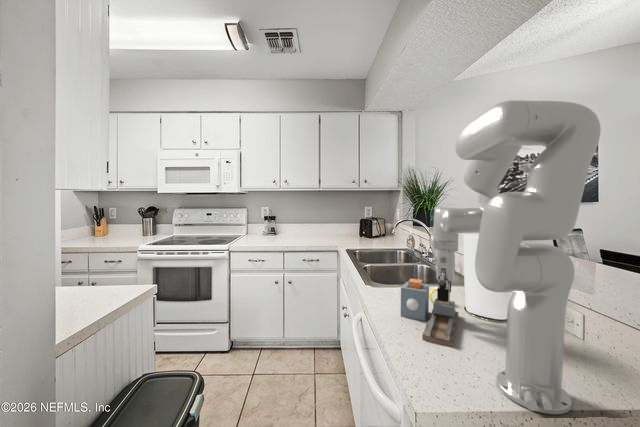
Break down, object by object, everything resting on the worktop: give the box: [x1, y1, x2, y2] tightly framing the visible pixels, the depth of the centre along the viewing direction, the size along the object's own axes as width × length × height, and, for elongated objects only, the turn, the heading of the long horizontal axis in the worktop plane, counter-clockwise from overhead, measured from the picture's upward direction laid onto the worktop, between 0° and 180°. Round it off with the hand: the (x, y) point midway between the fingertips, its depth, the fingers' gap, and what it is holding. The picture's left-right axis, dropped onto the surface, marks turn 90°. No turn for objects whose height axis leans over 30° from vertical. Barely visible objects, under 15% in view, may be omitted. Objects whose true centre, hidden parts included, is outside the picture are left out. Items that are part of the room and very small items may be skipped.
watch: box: [429, 286, 438, 304], centre depth 110 cm, size 6×3×6 cm, turn 88°
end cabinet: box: [400, 281, 430, 321], centre depth 99 cm, size 8×8×10 cm
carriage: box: [432, 282, 456, 317], centre depth 94 cm, size 6×6×10 cm
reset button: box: [407, 278, 423, 289], centre depth 99 cm, size 4×4×3 cm
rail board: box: [422, 307, 459, 348], centre depth 90 cm, size 23×8×3 cm, turn 150°
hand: (444, 296), depth 94 cm, fingers open, 9 cm apart
